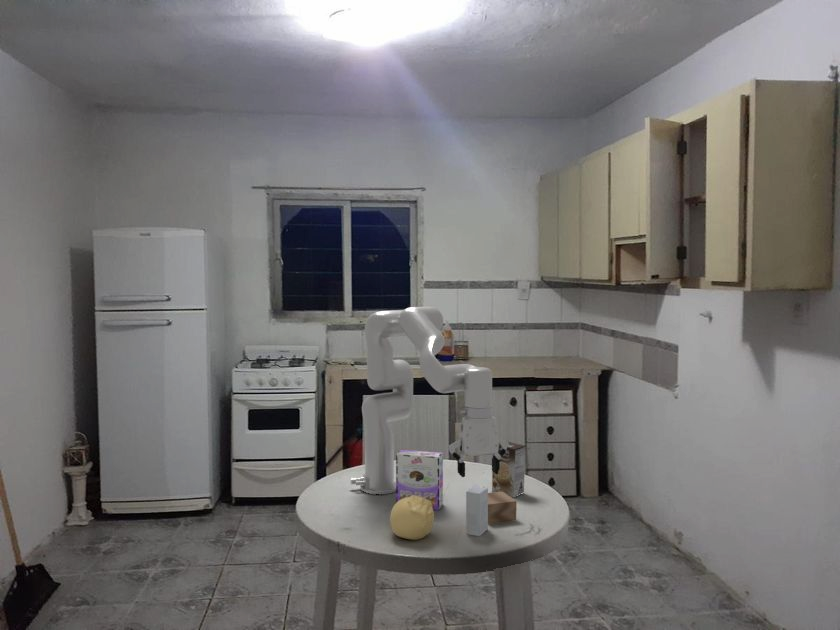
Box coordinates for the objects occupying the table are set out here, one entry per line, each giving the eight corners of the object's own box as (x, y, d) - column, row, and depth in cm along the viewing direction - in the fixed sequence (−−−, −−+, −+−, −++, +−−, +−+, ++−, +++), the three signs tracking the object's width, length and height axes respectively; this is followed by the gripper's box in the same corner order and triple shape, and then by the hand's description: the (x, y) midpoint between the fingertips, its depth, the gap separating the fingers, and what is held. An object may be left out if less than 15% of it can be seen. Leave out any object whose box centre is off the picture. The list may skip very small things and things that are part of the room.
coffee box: (490, 491, 214) (491, 443, 213) (502, 487, 218) (502, 440, 217) (514, 498, 207) (514, 448, 206) (525, 493, 212) (526, 445, 211)
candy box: (443, 504, 202) (443, 451, 201) (439, 510, 196) (439, 457, 195) (401, 499, 206) (401, 448, 205) (395, 506, 200) (395, 453, 199)
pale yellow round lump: (430, 545, 171) (430, 505, 170) (385, 542, 173) (386, 502, 172) (437, 529, 182) (437, 491, 182) (395, 525, 184) (395, 488, 184)
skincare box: (474, 526, 184) (474, 484, 183) (488, 529, 182) (488, 487, 181) (465, 534, 179) (465, 491, 178) (479, 537, 177) (480, 493, 176)
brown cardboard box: (487, 525, 186) (488, 504, 185) (474, 514, 194) (475, 494, 194) (516, 521, 189) (516, 501, 188) (502, 510, 197) (502, 491, 197)
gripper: (452, 417, 172) (452, 481, 173) (513, 413, 177) (513, 475, 178) (444, 411, 180) (444, 473, 180) (502, 408, 184) (502, 468, 185)
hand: (478, 474), depth 179 cm, fingers open, 9 cm apart
